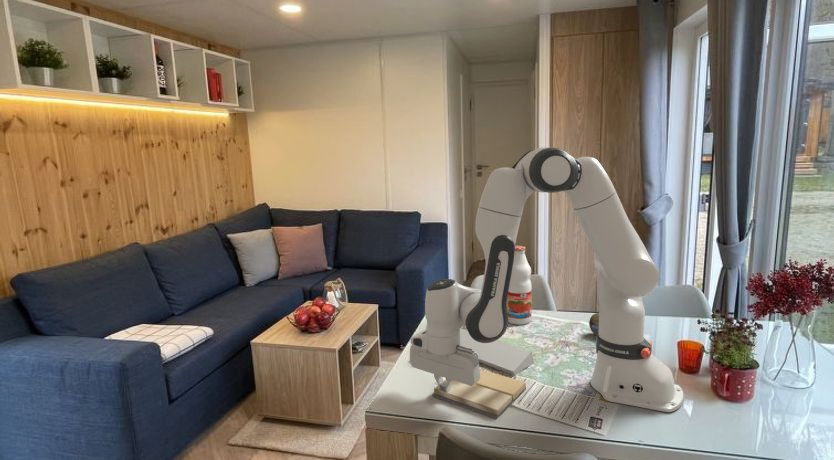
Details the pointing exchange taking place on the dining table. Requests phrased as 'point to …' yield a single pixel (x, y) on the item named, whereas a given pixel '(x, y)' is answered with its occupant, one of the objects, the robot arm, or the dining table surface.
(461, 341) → the decorative molding
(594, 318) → the tin
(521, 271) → the fruit juice
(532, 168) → the robot arm
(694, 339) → the dining table surface
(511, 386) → the laid floor
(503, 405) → the ash plank
